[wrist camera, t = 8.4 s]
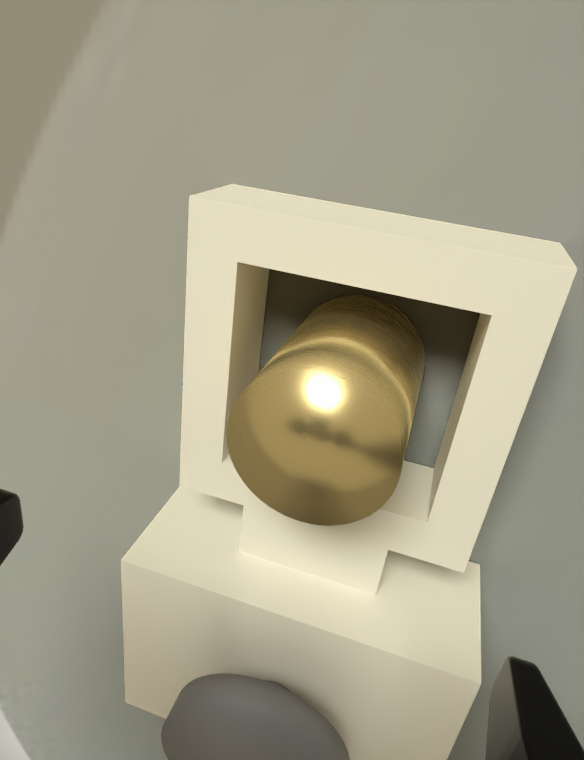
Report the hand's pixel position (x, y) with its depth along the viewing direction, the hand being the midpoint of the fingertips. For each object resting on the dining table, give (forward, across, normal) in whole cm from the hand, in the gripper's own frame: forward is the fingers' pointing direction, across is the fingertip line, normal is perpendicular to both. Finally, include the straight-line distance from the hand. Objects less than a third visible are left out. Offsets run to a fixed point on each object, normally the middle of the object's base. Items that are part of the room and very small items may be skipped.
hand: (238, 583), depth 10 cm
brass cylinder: (+10, 0, 0) cm, 10 cm away
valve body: (+10, 0, +5) cm, 12 cm away
